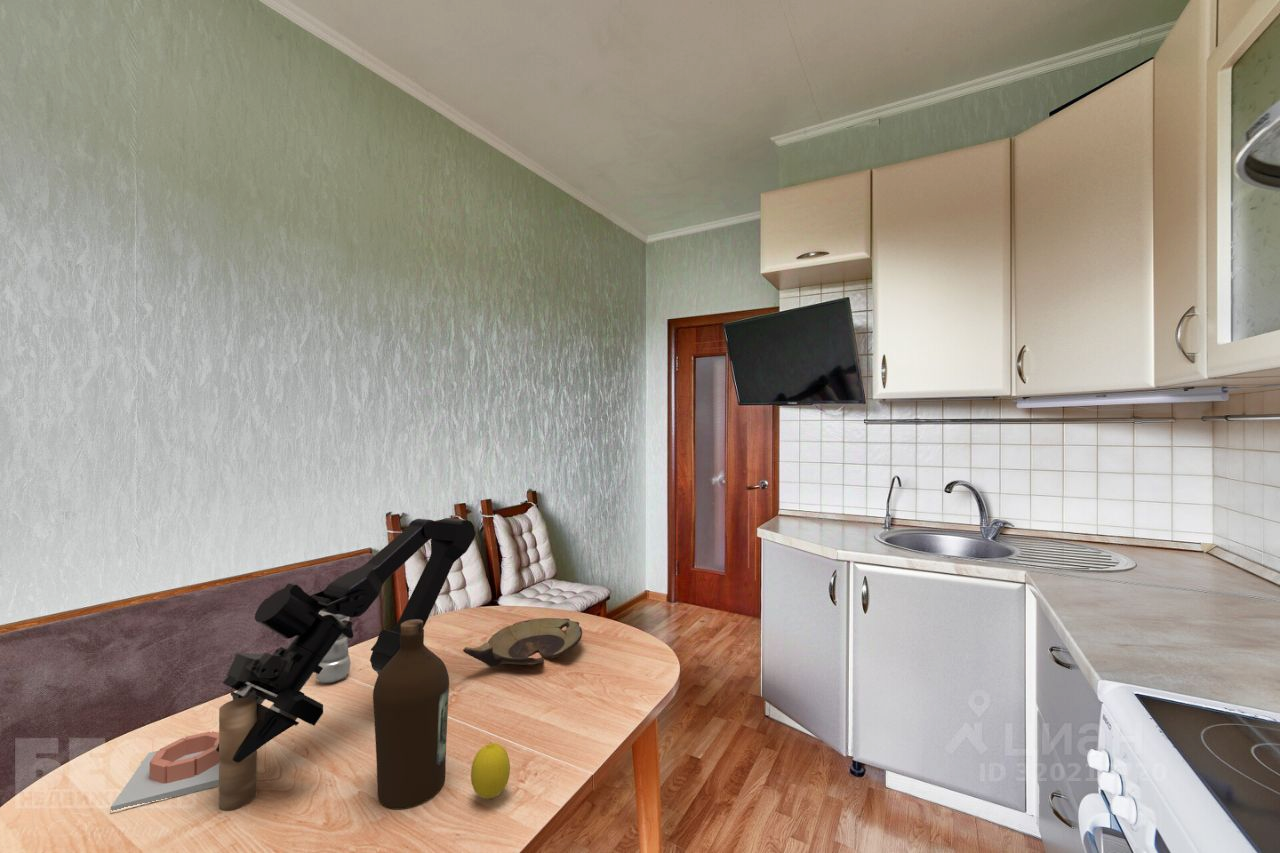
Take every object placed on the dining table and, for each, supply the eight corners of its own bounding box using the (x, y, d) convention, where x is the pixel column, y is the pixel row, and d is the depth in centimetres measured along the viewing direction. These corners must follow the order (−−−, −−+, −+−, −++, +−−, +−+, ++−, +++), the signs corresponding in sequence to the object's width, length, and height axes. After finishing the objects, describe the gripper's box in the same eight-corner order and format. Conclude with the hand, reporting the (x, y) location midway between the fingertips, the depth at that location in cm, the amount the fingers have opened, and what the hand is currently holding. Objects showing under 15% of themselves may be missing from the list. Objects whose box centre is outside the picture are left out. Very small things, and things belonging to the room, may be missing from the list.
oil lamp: (599, 662, 120) (599, 629, 120) (467, 693, 106) (466, 656, 106) (567, 630, 140) (567, 602, 140) (451, 653, 126) (451, 621, 126)
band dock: (252, 735, 92) (252, 715, 92) (233, 781, 79) (233, 759, 79) (148, 758, 85) (148, 737, 85) (110, 813, 73) (110, 789, 73)
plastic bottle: (308, 684, 110) (308, 591, 111) (337, 670, 117) (337, 582, 117) (329, 689, 108) (329, 594, 108) (357, 675, 114) (357, 585, 115)
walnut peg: (259, 786, 78) (259, 694, 79) (253, 804, 74) (253, 707, 75) (223, 795, 76) (223, 701, 76) (215, 815, 72) (215, 715, 73)
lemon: (475, 786, 78) (475, 733, 78) (512, 784, 78) (512, 731, 78) (466, 813, 72) (466, 756, 72) (506, 810, 73) (506, 754, 73)
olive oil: (368, 821, 71) (368, 641, 71) (377, 774, 81) (377, 615, 81) (449, 801, 75) (449, 629, 75) (449, 758, 85) (448, 607, 85)
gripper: (237, 618, 84) (148, 720, 74) (302, 639, 75) (210, 758, 65) (289, 649, 90) (213, 745, 81) (354, 671, 82) (278, 783, 72)
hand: (227, 756), depth 74 cm, fingers closed on walnut peg, 4 cm apart
